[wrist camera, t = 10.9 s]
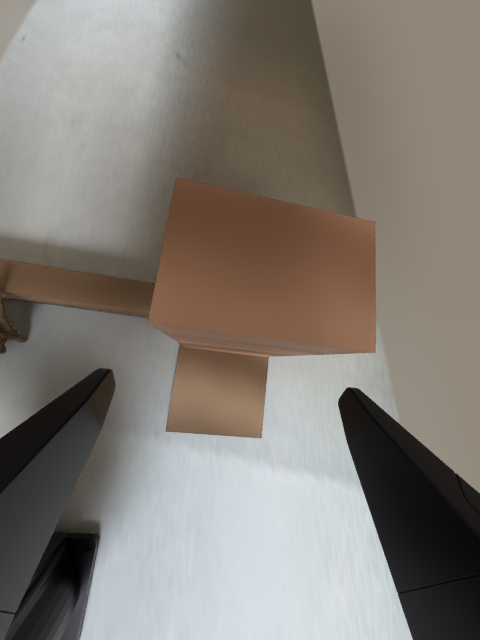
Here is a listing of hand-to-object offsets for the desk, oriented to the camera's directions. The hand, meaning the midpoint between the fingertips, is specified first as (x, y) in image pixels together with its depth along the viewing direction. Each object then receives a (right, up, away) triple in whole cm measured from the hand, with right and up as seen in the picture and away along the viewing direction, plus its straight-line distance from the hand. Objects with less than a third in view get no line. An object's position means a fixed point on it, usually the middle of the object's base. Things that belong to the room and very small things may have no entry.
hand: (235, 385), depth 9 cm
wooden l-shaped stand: (-9, 0, +8) cm, 13 cm away
